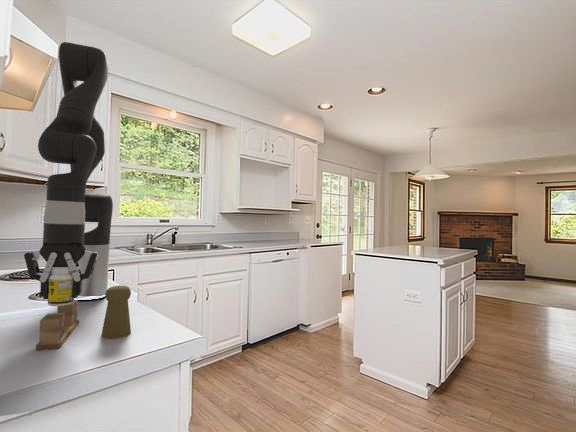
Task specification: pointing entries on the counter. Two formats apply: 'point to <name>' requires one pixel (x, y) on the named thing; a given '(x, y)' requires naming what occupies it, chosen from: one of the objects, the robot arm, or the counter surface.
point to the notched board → (57, 327)
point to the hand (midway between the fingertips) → (61, 297)
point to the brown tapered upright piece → (117, 313)
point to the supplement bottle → (60, 287)
